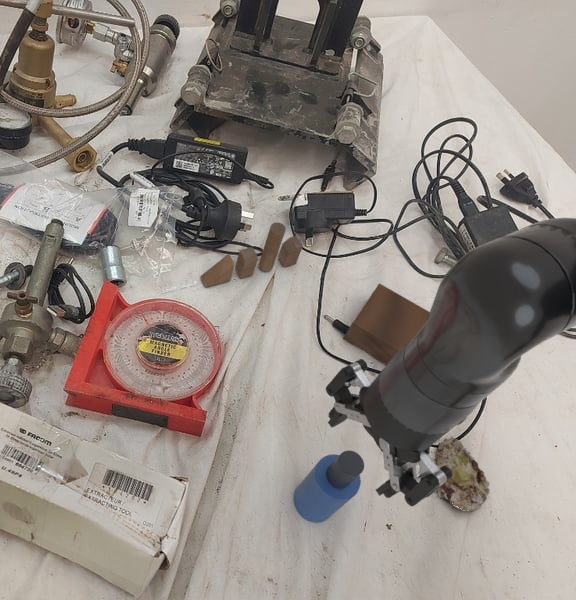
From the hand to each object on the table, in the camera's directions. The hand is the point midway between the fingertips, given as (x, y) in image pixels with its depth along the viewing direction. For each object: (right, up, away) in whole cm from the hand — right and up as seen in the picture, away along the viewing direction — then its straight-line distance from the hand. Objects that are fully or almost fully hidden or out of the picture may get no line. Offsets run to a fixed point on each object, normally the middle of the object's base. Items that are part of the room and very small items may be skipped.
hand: (359, 454), depth 64 cm
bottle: (-1, -11, +15) cm, 19 cm away
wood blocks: (-11, +21, +37) cm, 44 cm away
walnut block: (+14, +11, +32) cm, 37 cm away
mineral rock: (+20, -8, +19) cm, 29 cm away
